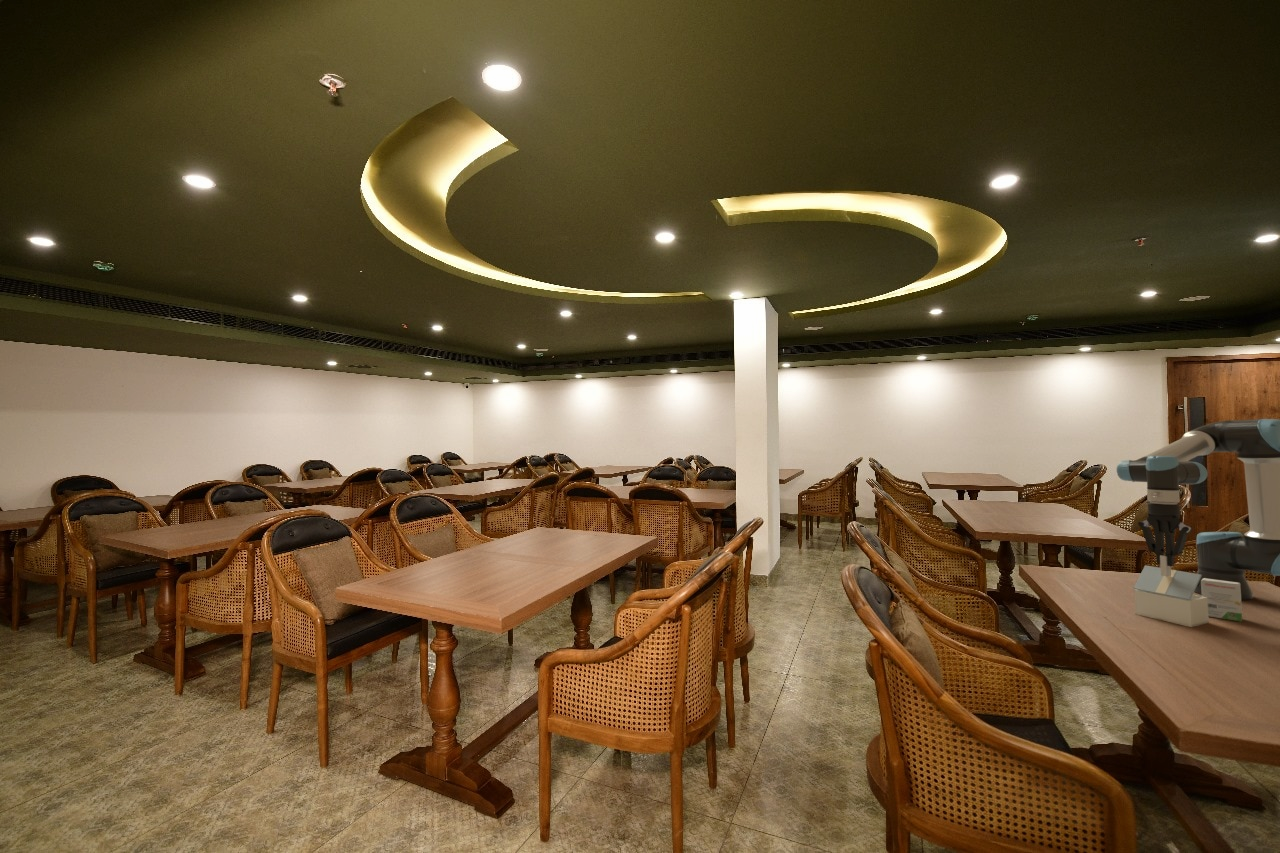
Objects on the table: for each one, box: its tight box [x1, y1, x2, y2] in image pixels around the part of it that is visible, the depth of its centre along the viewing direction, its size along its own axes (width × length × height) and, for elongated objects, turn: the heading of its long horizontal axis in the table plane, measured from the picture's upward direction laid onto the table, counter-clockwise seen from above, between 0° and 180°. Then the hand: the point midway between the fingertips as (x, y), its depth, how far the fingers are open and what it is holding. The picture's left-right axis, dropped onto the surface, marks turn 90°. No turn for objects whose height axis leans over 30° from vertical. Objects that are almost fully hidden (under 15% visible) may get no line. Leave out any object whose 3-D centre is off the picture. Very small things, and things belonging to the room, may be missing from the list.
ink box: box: [1201, 578, 1243, 623], centre depth 172 cm, size 8×5×12 cm, turn 38°
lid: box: [1133, 564, 1202, 600], centre depth 171 cm, size 10×14×1 cm
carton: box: [1133, 589, 1210, 628], centre depth 172 cm, size 10×14×8 cm
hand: (1165, 575), depth 171 cm, fingers closed
